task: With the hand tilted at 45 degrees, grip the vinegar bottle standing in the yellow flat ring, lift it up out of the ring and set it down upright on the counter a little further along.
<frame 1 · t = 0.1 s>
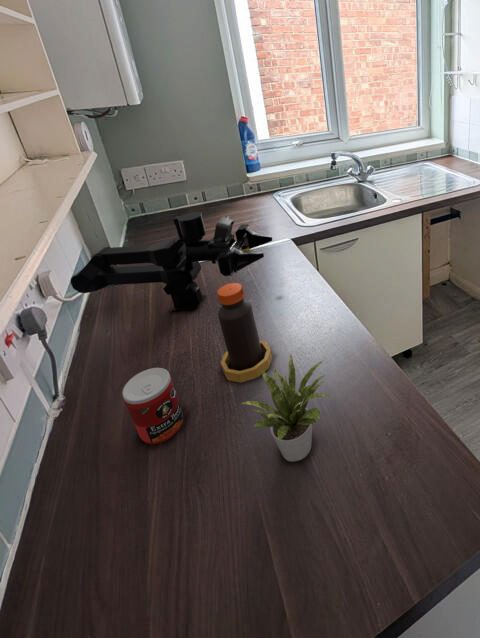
hand: (268, 246, 107), 17 cm above the counter, tool horizontal, fingers open, 9 cm apart
vinegar: (248, 364, 91), resting in yellow flat ring
house plant: (304, 446, 71), on the counter
canned food: (163, 427, 77), on the counter
yellow flat ring: (248, 364, 91), on the counter
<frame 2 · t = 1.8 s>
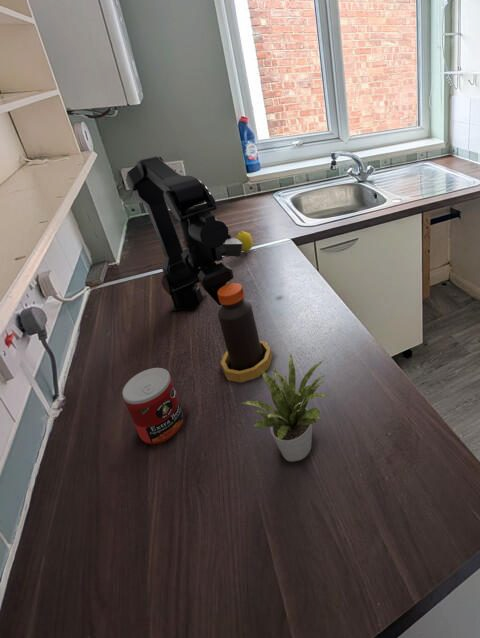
hand: (215, 296, 94), 13 cm above the counter, tool pointing down, fingers open, 9 cm apart
nothing on the counter moved.
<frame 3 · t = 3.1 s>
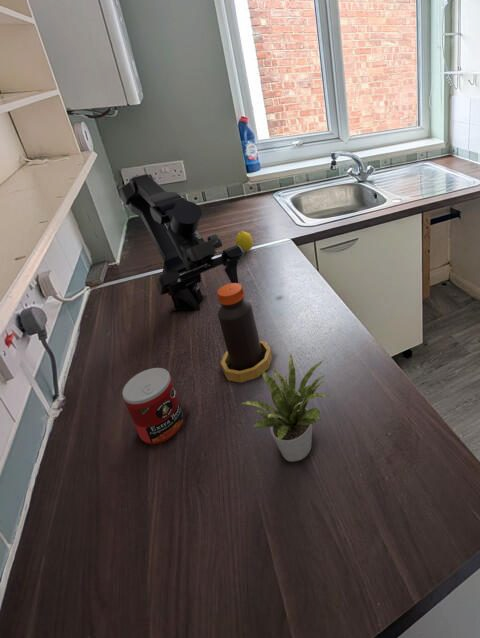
hand: (219, 300, 91), 13 cm above the counter, tool tilted 45°, fingers open, 9 cm apart
nothing on the counter moved.
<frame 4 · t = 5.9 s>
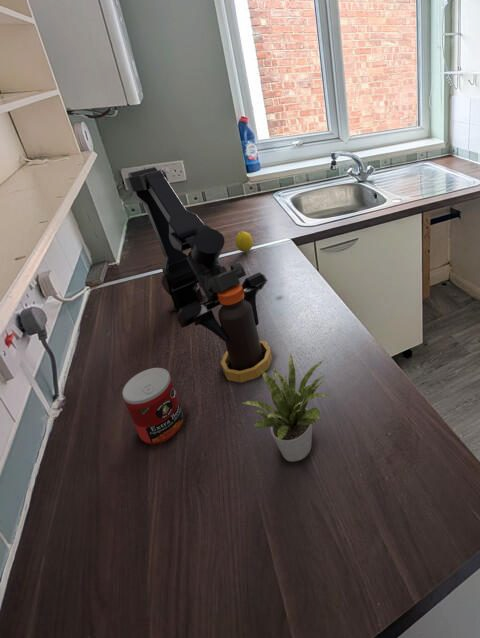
hand: (242, 332, 86), 10 cm above the counter, tool tilted 45°, fingers closed on vinegar, 7 cm apart
vinegar: (248, 364, 91), resting in yellow flat ring, touching gripper
everything else where it was.
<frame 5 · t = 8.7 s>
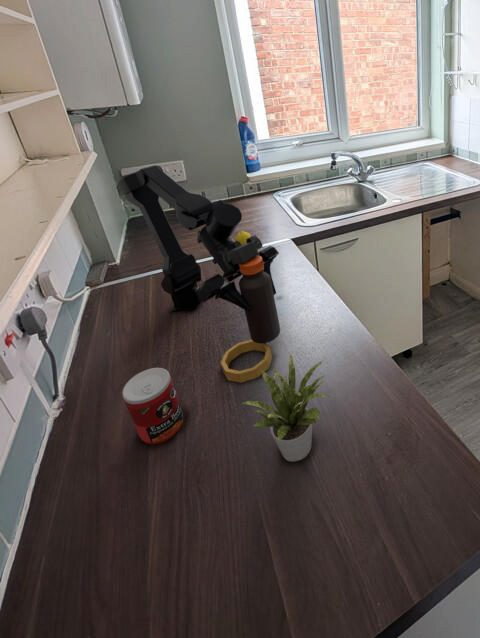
hand: (262, 302, 90), 13 cm above the counter, tool tilted 45°, fingers closed on vinegar, 7 cm apart
vinegar: (265, 335, 94), point 3 cm above the counter, touching gripper
everything else where it was.
when the fingers open (10 cm above the counter, at t = 11.7 s): vinegar stays where it is, on the counter.
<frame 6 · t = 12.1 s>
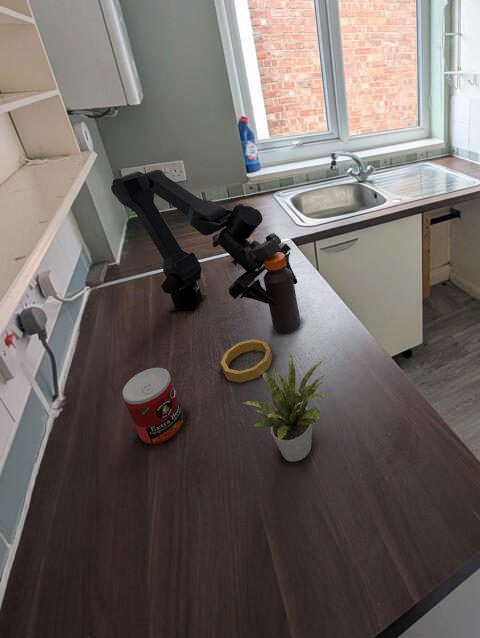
hand: (286, 293, 98), 10 cm above the counter, tool tilted 45°, fingers open, 9 cm apart
vinegar: (287, 326, 102), on the counter
everything else where it was.
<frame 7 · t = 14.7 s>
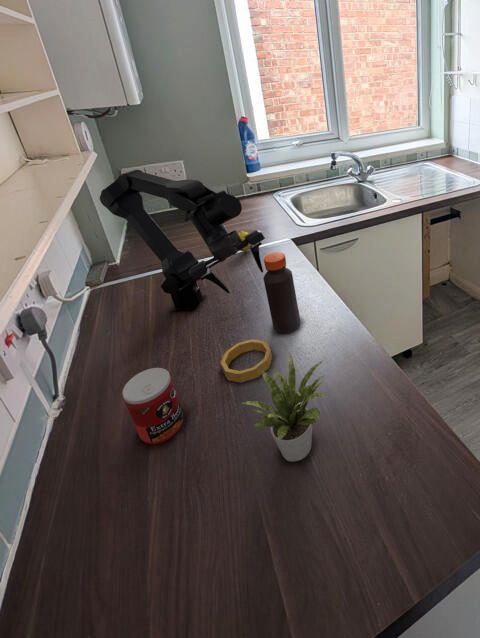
hand: (246, 282, 101), 11 cm above the counter, tool tilted 25°, fingers open, 9 cm apart
nothing on the counter moved.
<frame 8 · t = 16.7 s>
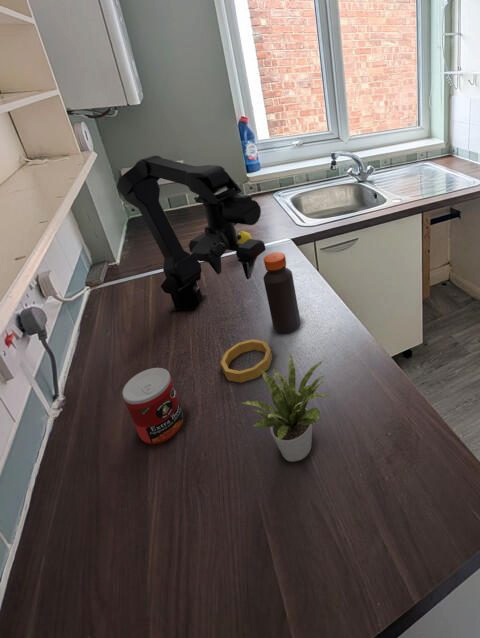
hand: (233, 276, 101), 13 cm above the counter, tool pointing down, fingers open, 9 cm apart
nothing on the counter moved.
at the end: vinegar inside the target area (0.1 cm from its centre), on the counter; vinegar tilted 0°; vinegar touching counter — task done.
